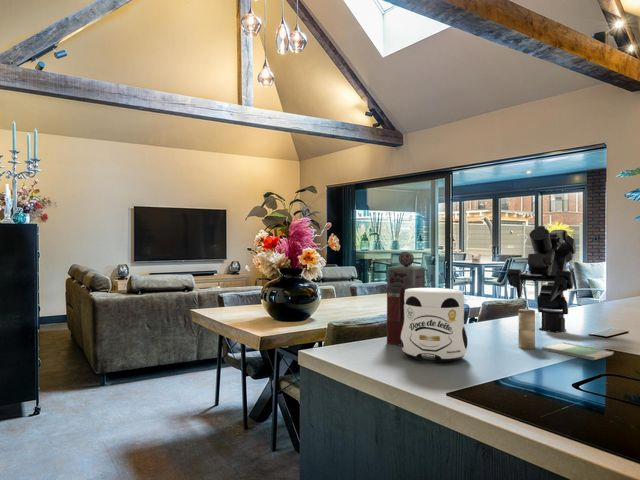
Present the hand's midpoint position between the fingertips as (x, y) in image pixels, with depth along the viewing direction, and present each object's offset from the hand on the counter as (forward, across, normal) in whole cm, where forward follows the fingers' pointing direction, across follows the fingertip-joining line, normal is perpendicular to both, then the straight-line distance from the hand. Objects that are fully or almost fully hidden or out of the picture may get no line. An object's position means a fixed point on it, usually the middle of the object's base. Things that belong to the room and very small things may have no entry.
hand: (534, 299), depth 141 cm
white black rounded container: (+36, -16, -16) cm, 42 cm away
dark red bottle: (+28, -31, -8) cm, 42 cm away
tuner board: (+13, +12, +6) cm, 19 cm away
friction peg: (+15, 0, +4) cm, 16 cm away
